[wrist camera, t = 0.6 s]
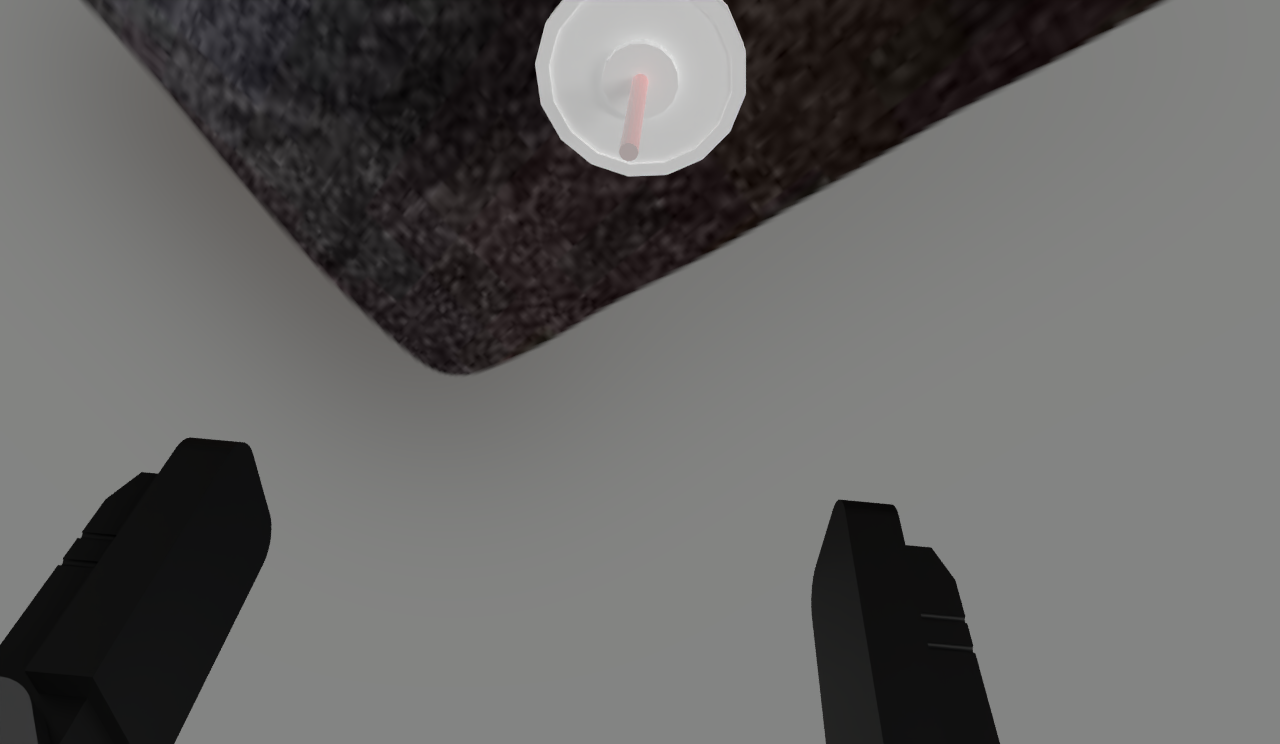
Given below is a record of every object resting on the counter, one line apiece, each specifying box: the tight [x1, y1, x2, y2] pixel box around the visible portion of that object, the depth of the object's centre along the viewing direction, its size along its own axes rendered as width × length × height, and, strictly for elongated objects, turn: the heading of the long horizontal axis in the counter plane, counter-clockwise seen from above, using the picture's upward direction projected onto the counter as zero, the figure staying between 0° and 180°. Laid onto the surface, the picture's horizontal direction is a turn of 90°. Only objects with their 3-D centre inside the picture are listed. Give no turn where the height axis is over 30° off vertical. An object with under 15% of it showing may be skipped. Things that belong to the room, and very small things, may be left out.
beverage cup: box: [535, 0, 746, 176], centre depth 27 cm, size 6×6×14 cm
